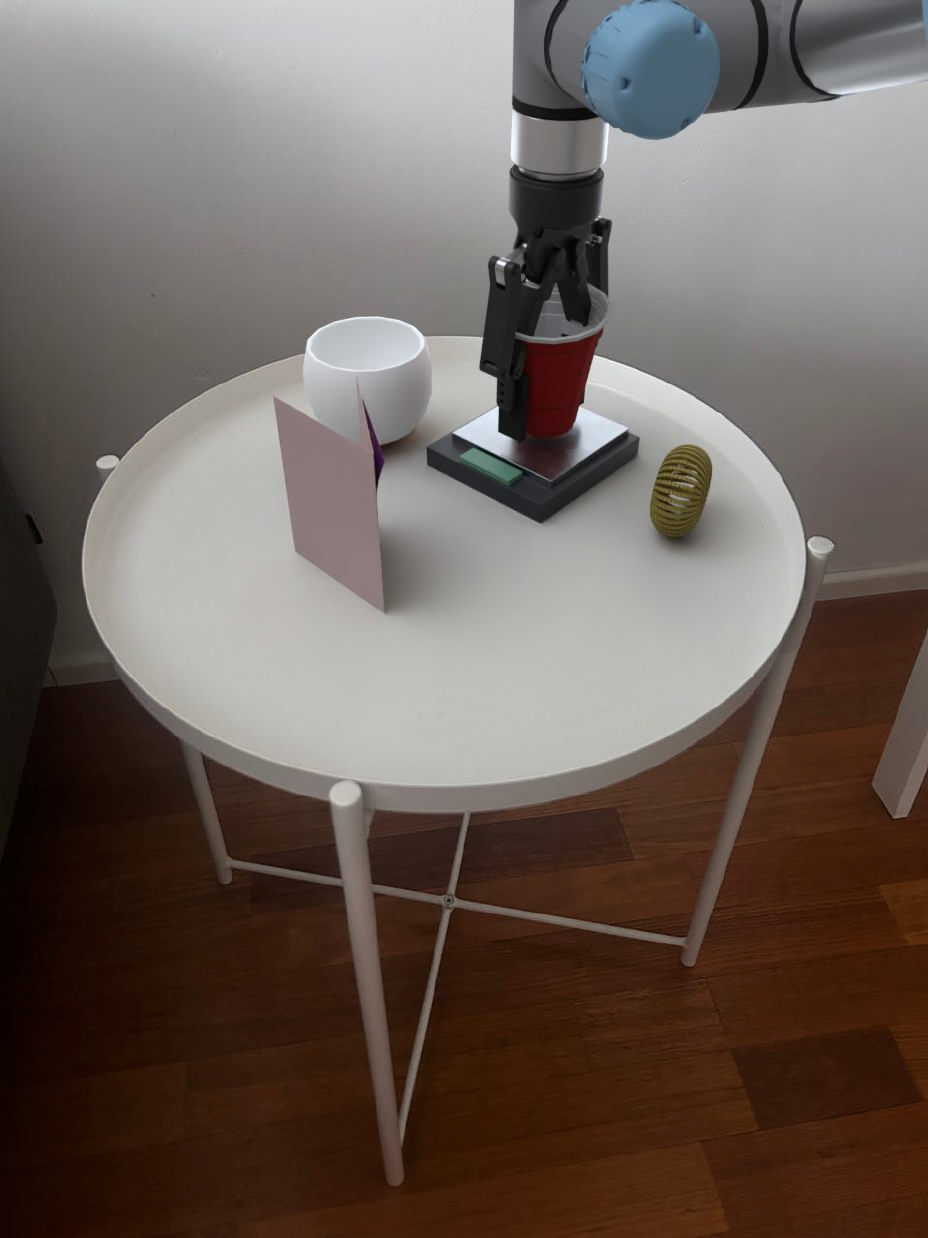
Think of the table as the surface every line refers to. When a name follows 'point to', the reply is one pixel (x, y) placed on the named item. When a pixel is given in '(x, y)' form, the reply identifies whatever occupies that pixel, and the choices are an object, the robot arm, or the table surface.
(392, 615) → the table surface
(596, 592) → the table surface
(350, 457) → the greeting card
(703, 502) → the sculpture
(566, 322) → the plastic cup
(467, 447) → the scale
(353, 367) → the cup
